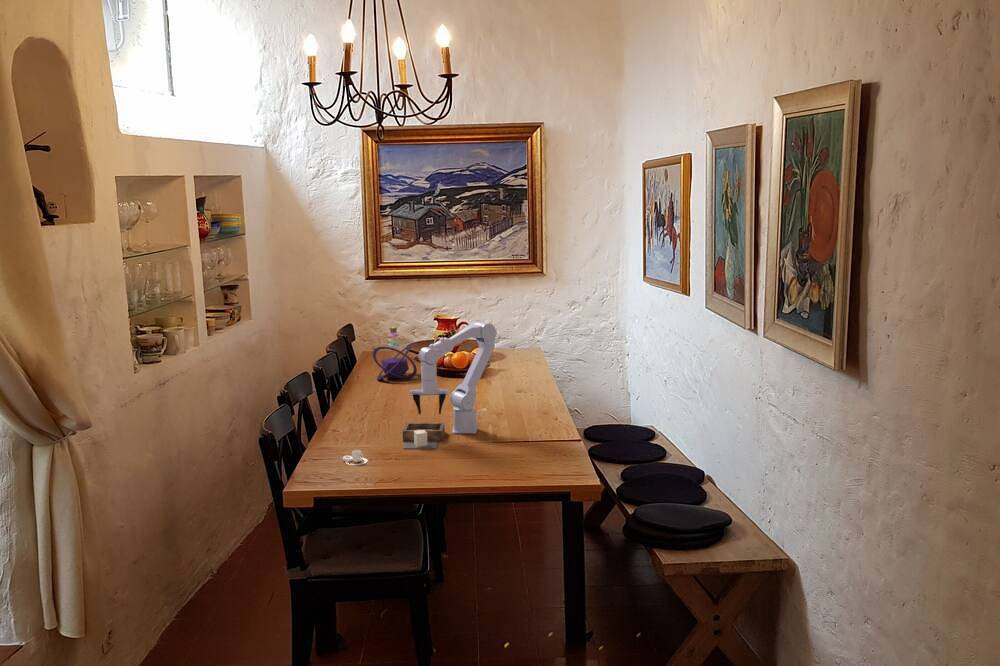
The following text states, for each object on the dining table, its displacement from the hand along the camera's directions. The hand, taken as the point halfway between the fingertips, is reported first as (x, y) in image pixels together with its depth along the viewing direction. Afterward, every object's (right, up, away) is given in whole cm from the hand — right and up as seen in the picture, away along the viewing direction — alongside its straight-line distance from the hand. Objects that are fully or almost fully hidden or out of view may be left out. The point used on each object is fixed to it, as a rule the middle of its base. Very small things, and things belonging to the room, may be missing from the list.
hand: (429, 413), depth 349 cm
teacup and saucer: (-25, -15, -22) cm, 36 cm away
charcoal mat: (-3, -11, -8) cm, 14 cm away
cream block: (-3, -11, -8) cm, 14 cm away
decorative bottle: (-25, +9, +98) cm, 101 cm away
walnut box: (-2, -9, +2) cm, 10 cm away
